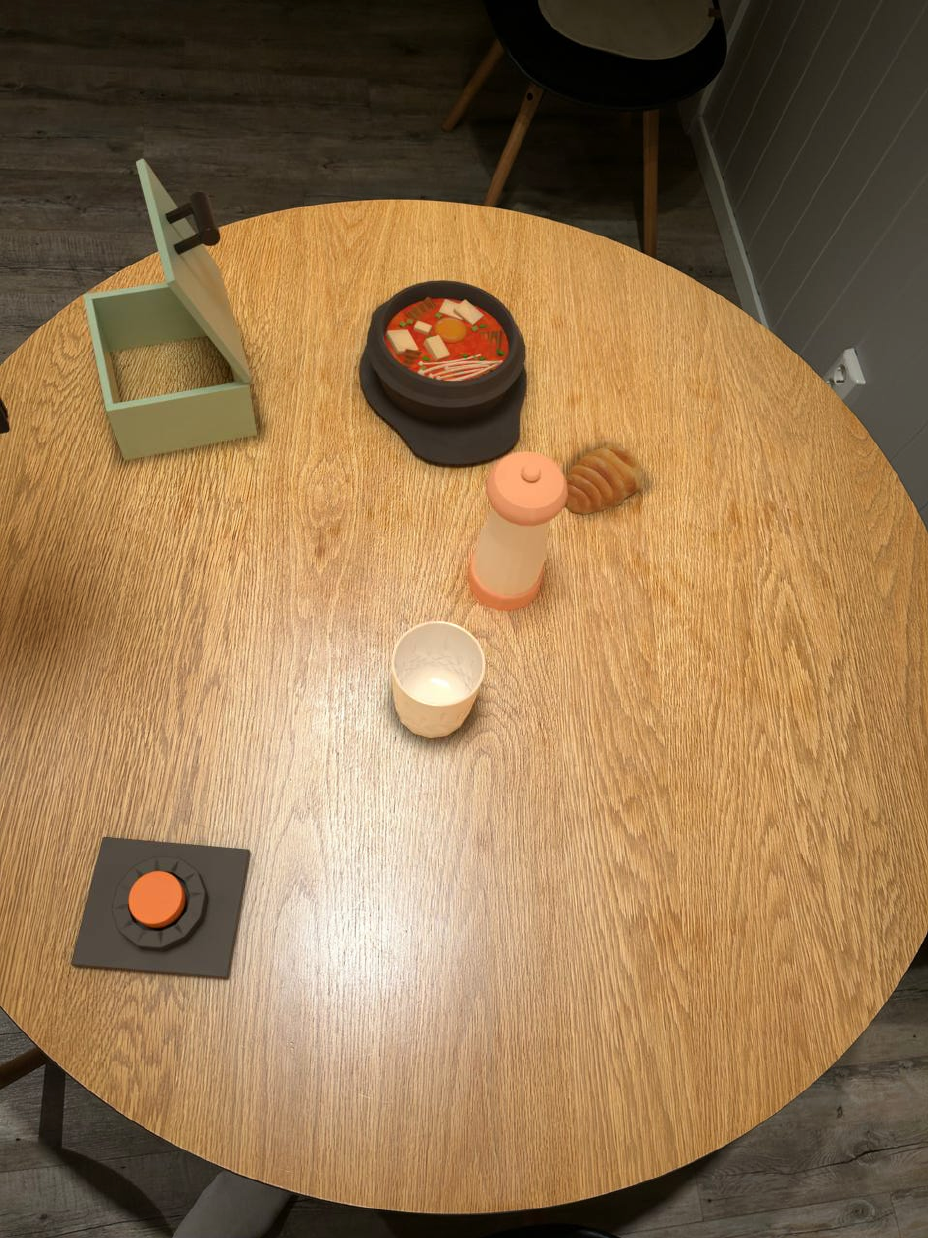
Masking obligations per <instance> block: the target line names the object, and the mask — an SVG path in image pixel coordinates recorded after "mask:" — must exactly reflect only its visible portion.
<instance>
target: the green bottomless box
mask: <svg viewBox="0 0 928 1238" xmlns="http://www.w3.org/2000/svg"><path fill="white" fill-rule="evenodd" d="M82 297H83V302H84V307H85V312H86V317H87V322H88V327H89V332H90V338H91V342H92V343H91V344H92V347H93V352H94V353H93V354H94V358H95V363H96V367H97V373H98V377H99V382H100V386H101V387H100V388H101V393H102V397H103V403H104V407H105V412H106V415H107V418H108V421H109V423H110V425H111V428H112V431H113V433H114V436H115V439H116V442H117V445H118V447H119V451H120V453H121V455H122V458H123V460H124V461H130V460H135V459H141V458H145V457H151V456H156V455H161V454H166V453H173V452H177V451H183V450H187V449H192V448H197V447H203V446H209V445H212V444H218V443H219V444H220V443H224V442H228V441H234V440H238V439H239V440H240V439H243V438H249V437H255V436H258V431H257V424H256V423H257V422H256V418H255V412H254V406H253V400H252V399H253V398H252V393H251V386H250V383H249V382H248V383H244V381H243V380H242V379H241V378H240V376H239V375H238V374H237V373H236V371H235V370H234V369H233V367H232V366H231V365H230V364H229V367H230V371H231V374H232V377H233V381H232V382H226V383H221V384H216V385H211V386H204V387H200V388H198V387H197V388H193V389H187V390H183V391H176V392H172V393H166V394H160V395H154V396H149V397H144V398H138V399H132V400H127V401H121V398H120V397H121V396H120V392H119V389H118V383H117V379H116V374H115V373H116V372H115V368H114V364H113V359H112V354H111V353H114V352H120V351H127V350H134V349H138V348H143V347H151V346H156V345H163V344H168V343H173V342H179V341H186V340H192V339H198V338H203V337H208V336H207V334H206V333H205V332H204V330H203V329H202V328H201V327H200V325H199V324H198V323H197V322H196V320H195V319H194V318H193V316H192V315H191V314H190V313H189V311H188V310H187V309H186V308H185V306H184V305H183V304H182V302H181V301H180V300H179V299H178V297H177V296H176V295H175V294H174V292H173V291H172V290H171V288H170V287H169V286H168V285H167V283H166V281H163V282H157V283H151V284H150V283H149V284H143V285H137V286H130V287H123V288H117V289H109V290H105V291H98V292H97V291H96V292H92V293H91V292H90V293H84V294H83V295H82Z"/></svg>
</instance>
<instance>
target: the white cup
mask: <svg viewBox="0 0 928 1238" xmlns="http://www.w3.org/2000/svg"><path fill="white" fill-rule="evenodd" d="M390 661H391V663H390V664H391V683H392V685H391V686H392V695H393V702H394V708H395V710H396V714H397V716H398V719H399V721H400V723H401V724H402V725H404V726H405V728H407V729H408V730H409V731H410V732H411V733H413V734H414V735H417V736H420V737H424V738H428V739H434V738H440V737H441V738H442V737H447V736H449V735H451V734H452V733H453V732H456V730H458V729H459V728H461V727H462V725H463V723H464V722H465V720H466V719H467V717H468V716H469V714H470V712H471V710H472V708H473V705H474V703H475V701H476V699H477V696H478V693H479V691H480V688H481V685H482V683H483V680H484V677H485V674H486V667H487V666H486V665H487V664H486V656H485V653H484V650H483V647H482V646H481V644H480V643H479V641H478V640H477V638H476V637H475V636H474V635H473V634H472V633H471V632H470V631H469V630H467V629H465V628H464V627H462V626H460V625H458V624H455V623H453V622H449V621H444V620H442V621H441V620H430V621H425V622H422V623H419V624H416V625H414V626H412V627H410V628H409V629H408V630H407V631H405V632H404V633H403V634H402V635H401V636H400V637H399V639H398V640H397V642H396V643H395V645H394V648H393V651H392V654H391V660H390Z"/></svg>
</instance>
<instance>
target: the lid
mask: <svg viewBox="0 0 928 1238" xmlns="http://www.w3.org/2000/svg"><path fill="white" fill-rule="evenodd" d="M135 164H136V168H137V172H138V176H139V181H140V184H141V189H142V192H143V196H144V200H145V205H146V208H147V211H148V216H149V221H150V224H151V227H152V228H151V229H152V232H153V236H154V240H155V243H156V247H157V251H158V255H159V260H160V263H161V268H162V271H163V275H164V280H165V282H166V283H167V285H168V286H169V287H170V288H171V290H172V291H173V292H174V294H175V295H176V296H177V297H178V299H179V300H180V301H181V302H182V304H183V305H184V306H185V308H186V309H187V310H188V311H189V313H190V314H191V315H192V316H193V318H194V319H195V320H196V322H197V323H198V324H199V325H200V327H201V328H202V329H203V330H204V332H205V333H206V334H207V336H206V337H208V339H210V341H211V342H212V344H214V346H215V347H216V349H217V350H218V351H219V352H220V354H221V355H222V356H223V357H224V359H225V360H226V361H227V362H228V364H229V366H230V365H231V366H232V367H233V369H234V370H235V371H236V373H237V374H238V375H239V376H240V378H241V379H242V380H243V381H244V383H248V382H252V381H253V378H252V375H251V371H250V368H249V367H250V366H249V364H248V361H247V357H246V353H245V351H244V346H243V343H242V339H241V337H240V332H239V329H238V327H237V322H236V320H235V316H234V312H233V308H232V306H231V301H230V299H229V294H228V291H227V288H226V284H225V281H224V279H223V278H224V277H223V274H222V271H221V268H220V266H219V265H218V263H217V262H216V261H215V259H214V258H213V256H212V255H211V254H210V253H209V250H208V249H207V248H206V246H207V247H214V246H216V245H217V244H219V243H220V241H221V233H220V229H219V226H218V222H217V219H216V216H215V212H214V209H213V206H212V202H211V199H210V196H209V195H208V194H207V193H206V192H204V191H200V190H199V191H195V192H193V193H192V194H190V196H189V199H188V201H189V202H187V203H185V204H183V205H180V206H177V205H176V204H175V202H174V200H173V198H172V197H171V196H170V195H169V193H168V192H167V190H166V188H164V186H163V185H162V183H161V181H160V180H159V179H158V177H157V175H156V174H155V173H154V172H153V170H152V168H151V167H150V166H149V164H148V163H147V161H146V159H144V158H141V159H138V160H136V161H135ZM190 216H192V217H193V220H194V224H195V227H196V230H197V233H196V232H195V231H194V229H193V227H192V226H191V225H190V224H189V222H188V220H187V219H186V218H187V217H190Z"/></svg>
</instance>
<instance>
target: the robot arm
mask: <svg viewBox="0 0 928 1238" xmlns="http://www.w3.org/2000/svg"><path fill="white" fill-rule="evenodd" d="M10 431H11V427H10V421H9V412H8V408H7V407H6V405H5V403H4V401H3V399H2V397H1V396H0V435H3V434H7V433H9V432H10Z"/></svg>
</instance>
